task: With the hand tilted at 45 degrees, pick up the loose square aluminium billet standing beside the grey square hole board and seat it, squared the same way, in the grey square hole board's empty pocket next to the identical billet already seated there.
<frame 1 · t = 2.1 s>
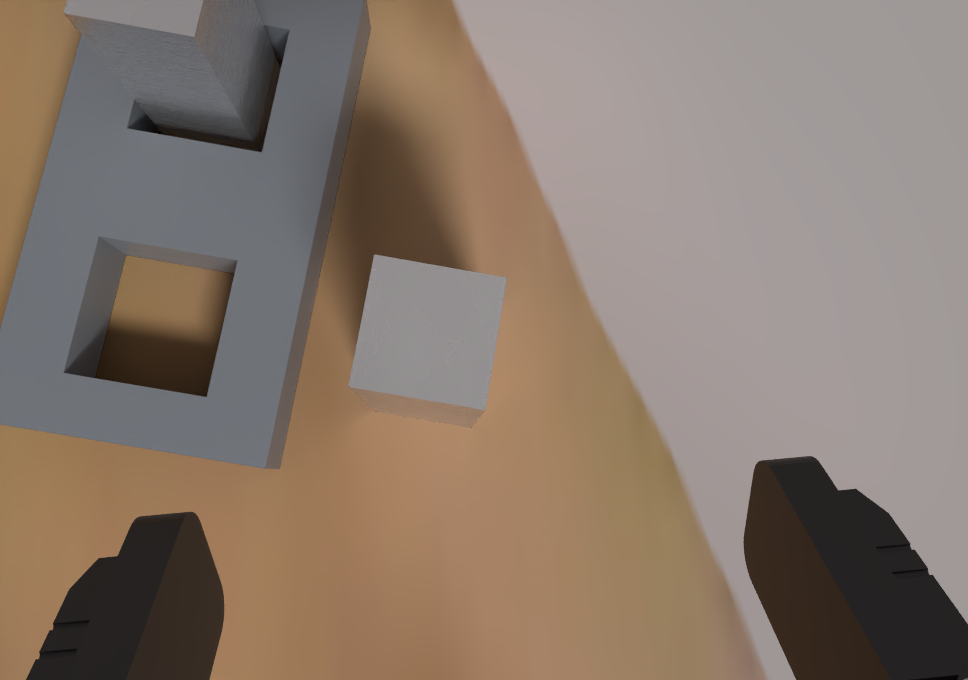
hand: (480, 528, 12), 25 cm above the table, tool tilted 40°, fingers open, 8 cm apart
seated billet: (227, 108, 39), resting in grey square hole board
billet: (431, 372, 37), on the table
grey square hole board: (201, 215, 38), on the table
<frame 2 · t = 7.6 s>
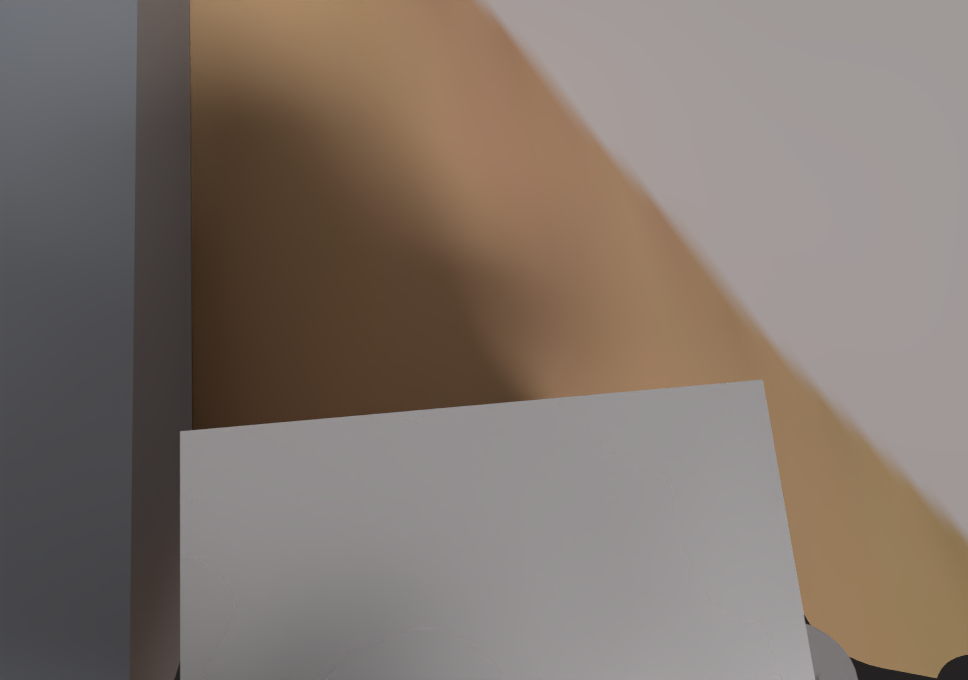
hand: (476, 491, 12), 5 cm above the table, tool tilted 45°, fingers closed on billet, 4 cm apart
billet: (487, 596, 16), on the table, touching gripper
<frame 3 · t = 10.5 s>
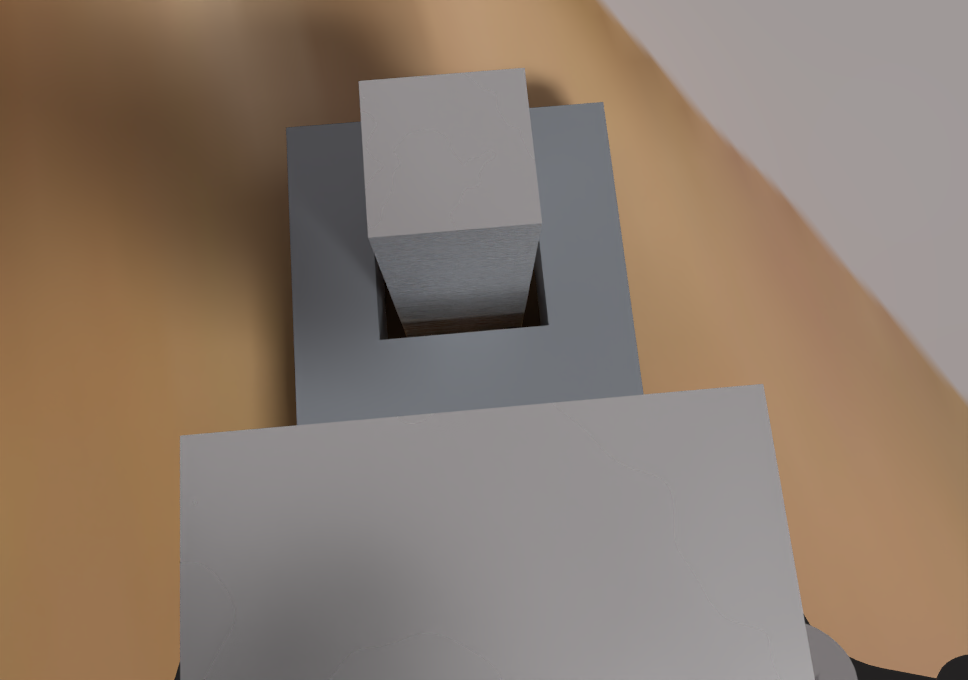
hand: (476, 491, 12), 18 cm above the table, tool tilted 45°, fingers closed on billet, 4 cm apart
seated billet: (459, 277, 32), resting in grey square hole board
billet: (487, 598, 16), point 13 cm above the table, touching gripper
grey square hole board: (471, 414, 30), on the table
when the fingers open (6 cm above the table, at t = 13.6 s): billet drops 1 cm, resting in grey square hole board.
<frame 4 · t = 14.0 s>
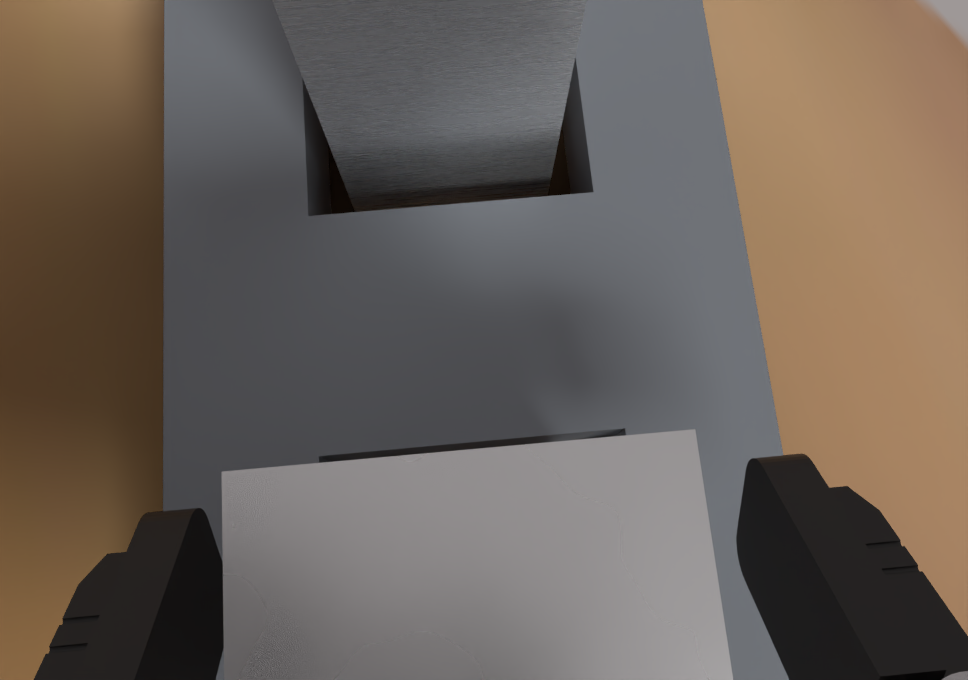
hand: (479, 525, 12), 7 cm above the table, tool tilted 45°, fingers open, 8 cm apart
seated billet: (446, 142, 20), resting in grey square hole board
billet: (480, 599, 18), resting in grey square hole board
grey square hole board: (464, 351, 19), on the table
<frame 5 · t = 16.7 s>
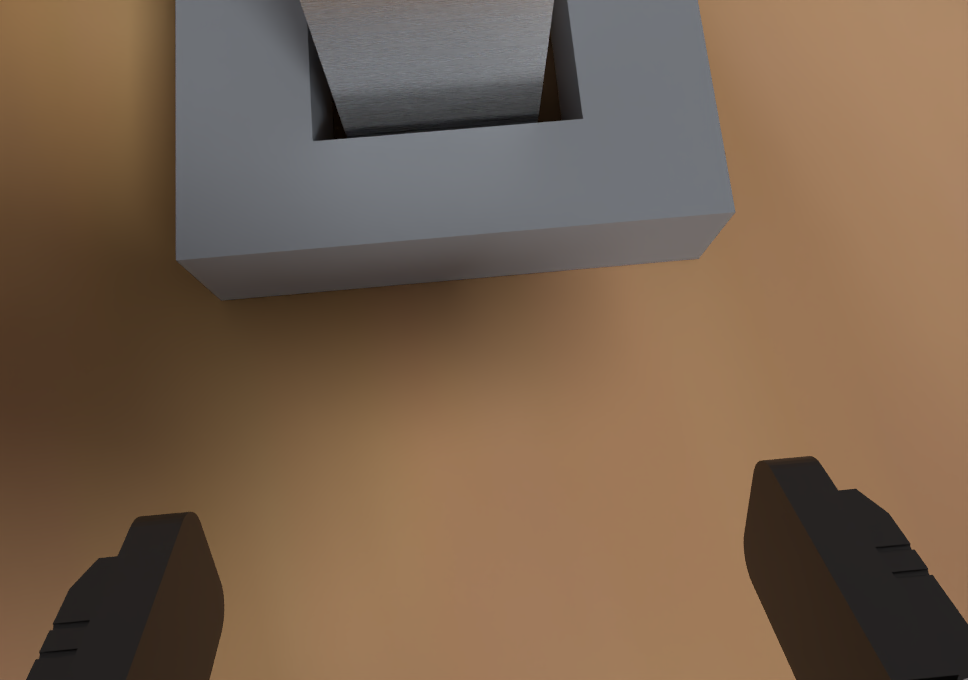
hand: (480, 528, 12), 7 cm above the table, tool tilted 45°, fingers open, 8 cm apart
billet: (439, 90, 21), resting in grey square hole board
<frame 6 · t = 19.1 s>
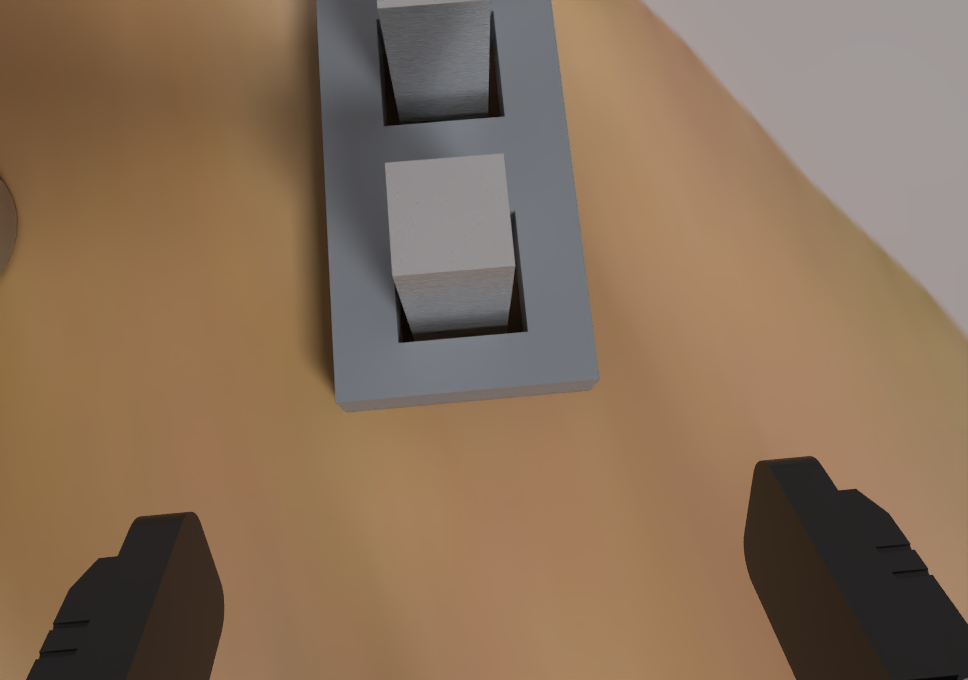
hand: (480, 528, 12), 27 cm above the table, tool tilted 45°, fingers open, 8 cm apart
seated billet: (442, 99, 43), resting in grey square hole board
billet: (457, 297, 40), resting in grey square hole board
grey square hole board: (450, 193, 41), on the table
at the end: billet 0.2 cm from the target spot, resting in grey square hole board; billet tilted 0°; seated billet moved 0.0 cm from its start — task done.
